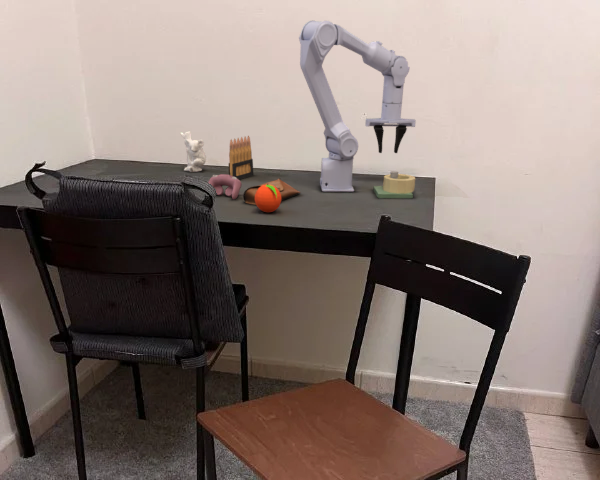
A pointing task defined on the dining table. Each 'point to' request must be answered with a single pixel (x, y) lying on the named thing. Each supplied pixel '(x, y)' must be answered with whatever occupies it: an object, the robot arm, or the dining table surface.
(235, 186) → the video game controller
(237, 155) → the ammunition clip
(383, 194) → the peg stand
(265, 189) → the clementine
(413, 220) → the dining table surface
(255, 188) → the sunglasses case
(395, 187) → the masking tape roll
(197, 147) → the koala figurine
